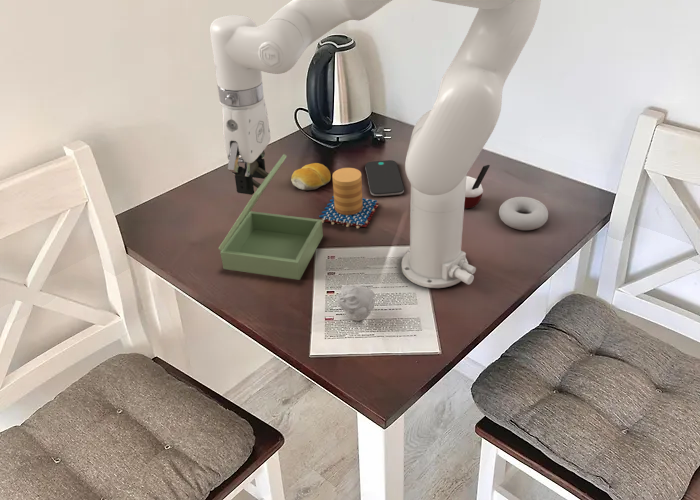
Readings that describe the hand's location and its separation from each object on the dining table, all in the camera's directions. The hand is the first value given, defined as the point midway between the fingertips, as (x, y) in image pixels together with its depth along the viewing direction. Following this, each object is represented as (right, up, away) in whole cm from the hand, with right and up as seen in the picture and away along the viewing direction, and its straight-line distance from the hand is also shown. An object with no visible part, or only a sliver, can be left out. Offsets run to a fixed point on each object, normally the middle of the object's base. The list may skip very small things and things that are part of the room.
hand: (251, 184), depth 122 cm
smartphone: (+26, +4, +31) cm, 41 cm away
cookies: (+18, -3, +18) cm, 26 cm away
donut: (+54, -6, +15) cm, 57 cm away
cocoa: (+44, -3, +21) cm, 48 cm away
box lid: (0, -3, +2) cm, 4 cm away
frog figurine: (+19, -24, -7) cm, 32 cm away
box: (+3, -13, +9) cm, 16 cm away
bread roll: (+9, +3, +32) cm, 33 cm away
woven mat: (+18, -5, +19) cm, 27 cm away
